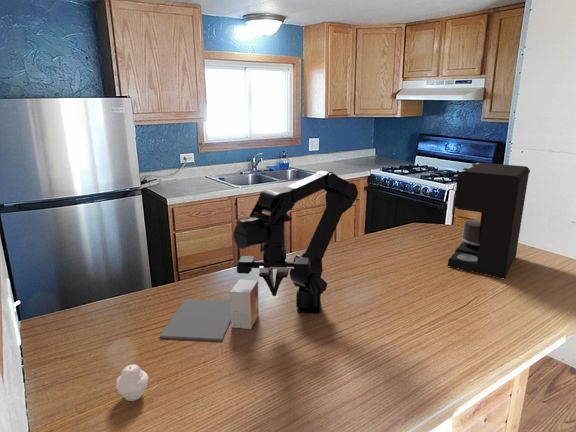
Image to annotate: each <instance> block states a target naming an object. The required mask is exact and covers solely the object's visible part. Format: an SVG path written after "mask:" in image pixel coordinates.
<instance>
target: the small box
mask: <svg viewBox="0 0 576 432" xmlns="http://www.w3.org/2000/svg"><path fill="white" fill-rule="evenodd" d="M229 299H230V300H229V301H230V308H231V322H230V324H231V325H230V326H231V328H236V329H246V330H252V328H253V326H254V325H255V323H256V321H257V319H258V318H259V315H260V311H259V280H251V279H238V280H237V282H236V283H235V284H234V286H233V287H232V288H231V290H230V291H229Z"/></svg>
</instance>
